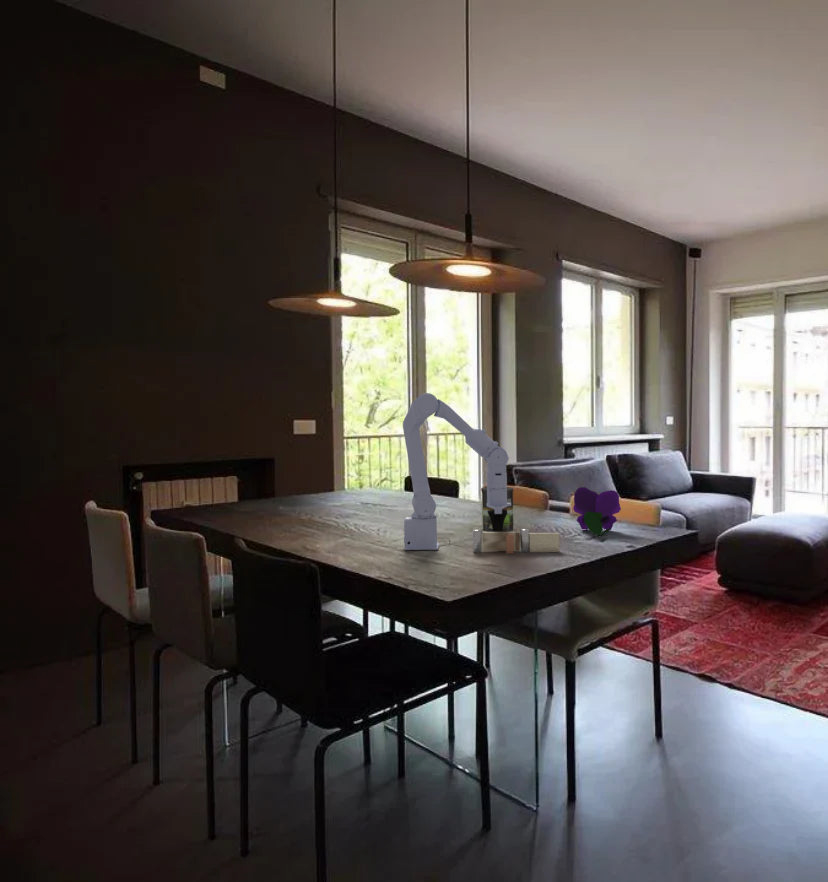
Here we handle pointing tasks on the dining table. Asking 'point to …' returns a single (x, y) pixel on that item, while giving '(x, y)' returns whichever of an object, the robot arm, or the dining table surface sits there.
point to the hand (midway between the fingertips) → (497, 535)
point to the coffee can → (485, 517)
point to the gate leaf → (499, 541)
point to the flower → (596, 509)
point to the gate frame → (524, 541)
